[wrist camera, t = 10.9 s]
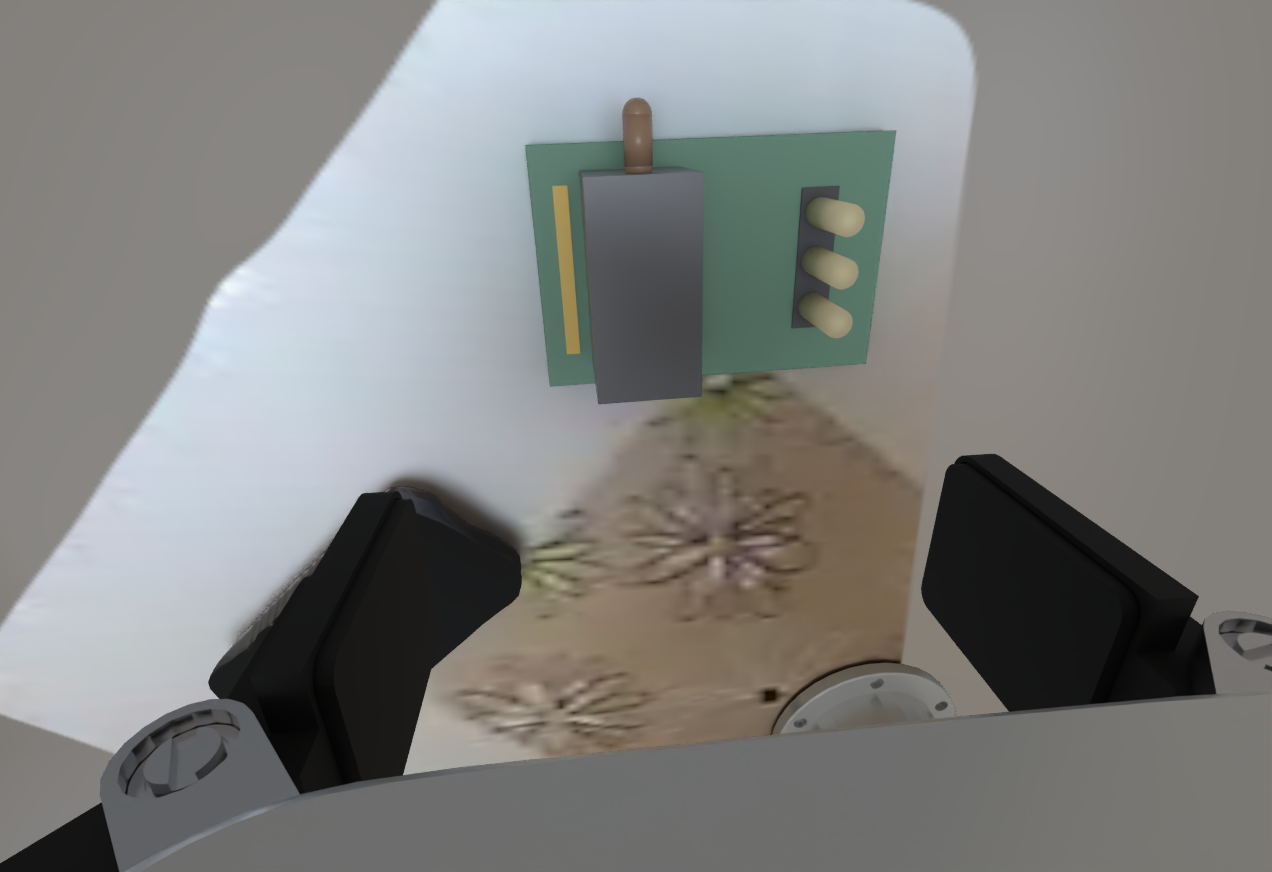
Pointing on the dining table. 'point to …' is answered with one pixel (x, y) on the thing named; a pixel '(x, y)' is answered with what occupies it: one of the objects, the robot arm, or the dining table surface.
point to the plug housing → (644, 271)
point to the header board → (737, 246)
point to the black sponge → (458, 574)
